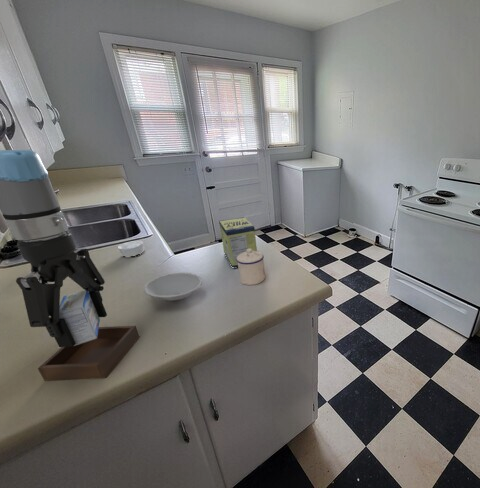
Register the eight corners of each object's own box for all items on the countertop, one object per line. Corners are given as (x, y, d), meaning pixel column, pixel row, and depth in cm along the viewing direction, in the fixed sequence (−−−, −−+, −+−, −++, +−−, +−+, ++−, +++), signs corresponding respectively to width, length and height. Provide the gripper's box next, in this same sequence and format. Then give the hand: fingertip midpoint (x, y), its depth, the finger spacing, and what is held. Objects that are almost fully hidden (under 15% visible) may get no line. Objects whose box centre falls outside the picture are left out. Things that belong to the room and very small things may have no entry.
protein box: (248, 249, 120) (244, 216, 114) (259, 263, 108) (255, 226, 102) (223, 254, 115) (218, 220, 109) (232, 269, 103) (226, 231, 97)
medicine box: (97, 339, 59) (83, 306, 55) (70, 347, 56) (54, 313, 53) (100, 320, 65) (88, 289, 61) (76, 327, 62) (62, 295, 59)
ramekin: (126, 260, 110) (123, 250, 109) (116, 255, 115) (113, 245, 113) (149, 252, 117) (146, 243, 115) (139, 248, 122) (136, 239, 120)
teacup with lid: (270, 279, 96) (268, 249, 92) (248, 288, 90) (244, 257, 86) (252, 268, 104) (249, 240, 99) (230, 276, 98) (226, 247, 93)
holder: (44, 381, 57) (37, 368, 56) (88, 338, 69) (83, 327, 67) (106, 377, 58) (100, 365, 56) (139, 336, 69) (136, 325, 68)
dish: (135, 306, 81) (130, 292, 79) (171, 282, 94) (167, 269, 92) (184, 315, 77) (180, 300, 75) (215, 289, 90) (212, 276, 88)
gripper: (6, 259, 42) (62, 368, 50) (103, 218, 62) (131, 301, 70) (-46, 261, 41) (19, 370, 50) (69, 219, 61) (101, 302, 70)
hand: (85, 329), depth 60 cm, fingers closed on medicine box, 9 cm apart
